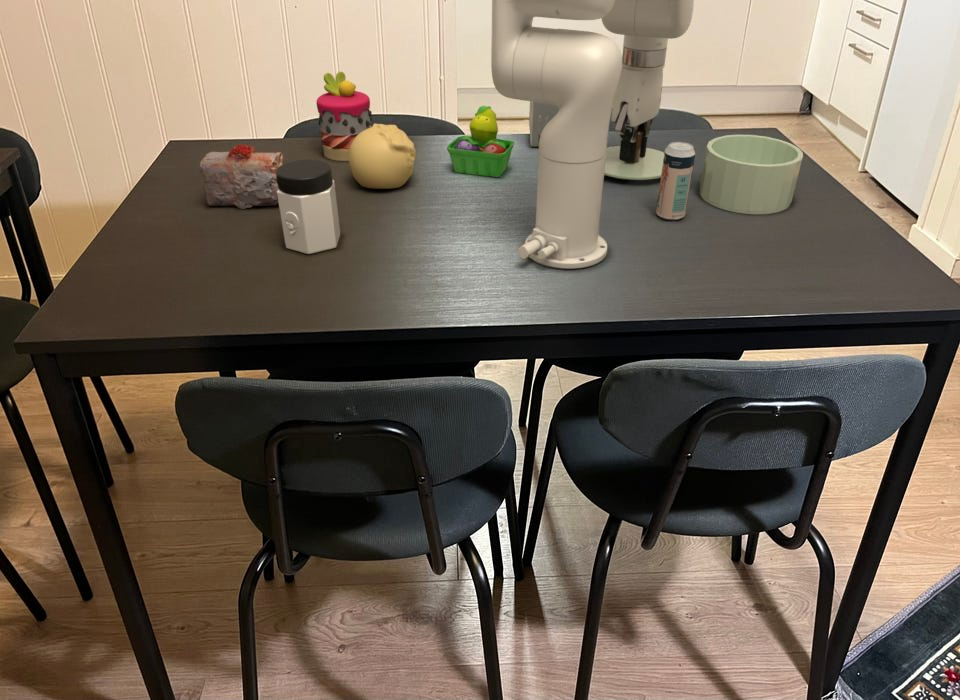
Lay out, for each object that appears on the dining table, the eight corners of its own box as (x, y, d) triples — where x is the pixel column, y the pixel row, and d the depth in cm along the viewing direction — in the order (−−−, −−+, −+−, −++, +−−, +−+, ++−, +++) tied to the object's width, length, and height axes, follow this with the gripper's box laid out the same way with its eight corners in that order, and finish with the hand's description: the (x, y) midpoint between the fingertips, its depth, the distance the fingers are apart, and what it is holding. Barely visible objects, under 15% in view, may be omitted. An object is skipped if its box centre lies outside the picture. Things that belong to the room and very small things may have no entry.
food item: (293, 192, 135) (284, 138, 130) (284, 210, 129) (275, 154, 123) (216, 193, 135) (205, 139, 129) (203, 211, 128) (191, 155, 123)
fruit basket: (445, 173, 143) (444, 114, 136) (461, 158, 149) (460, 100, 143) (503, 181, 139) (504, 120, 133) (516, 164, 146) (518, 106, 140)
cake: (385, 149, 154) (379, 73, 145) (351, 165, 146) (343, 86, 138) (345, 140, 158) (338, 66, 150) (311, 155, 151) (300, 78, 143)
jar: (274, 246, 117) (261, 172, 111) (308, 226, 123) (298, 155, 117) (319, 259, 114) (308, 183, 107) (352, 238, 120) (344, 165, 113)
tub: (769, 222, 124) (781, 173, 120) (683, 198, 133) (691, 151, 128) (804, 194, 134) (816, 147, 130) (722, 173, 143) (731, 128, 138)
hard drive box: (568, 148, 154) (574, 45, 143) (530, 148, 154) (534, 45, 143) (562, 124, 167) (568, 28, 156) (528, 124, 167) (531, 28, 156)
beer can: (664, 207, 129) (674, 138, 123) (689, 215, 127) (701, 145, 120) (650, 216, 126) (660, 146, 120) (676, 224, 124) (687, 153, 117)
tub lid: (647, 190, 134) (652, 154, 130) (569, 168, 143) (572, 133, 139) (691, 164, 144) (697, 130, 141) (616, 145, 153) (620, 112, 150)
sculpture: (425, 190, 136) (422, 131, 130) (360, 200, 132) (354, 139, 126) (406, 168, 145) (403, 112, 139) (345, 177, 141) (339, 119, 135)
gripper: (648, 45, 140) (636, 143, 150) (600, 62, 129) (591, 166, 140) (685, 51, 136) (670, 151, 146) (638, 69, 125) (626, 175, 136)
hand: (632, 157), depth 143 cm, fingers closed on tub lid, 2 cm apart
